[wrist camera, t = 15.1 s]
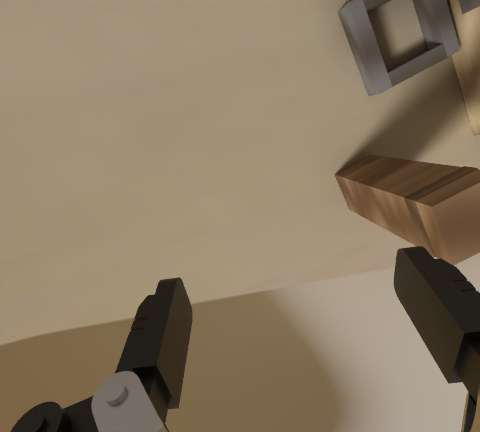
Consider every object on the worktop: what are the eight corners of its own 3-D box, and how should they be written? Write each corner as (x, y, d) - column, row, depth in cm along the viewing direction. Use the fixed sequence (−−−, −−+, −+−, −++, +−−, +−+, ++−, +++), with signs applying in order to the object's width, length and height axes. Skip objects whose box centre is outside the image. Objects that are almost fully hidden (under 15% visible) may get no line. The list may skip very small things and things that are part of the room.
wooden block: (334, 174, 30) (431, 206, 17) (371, 154, 30) (500, 170, 17) (349, 210, 31) (452, 267, 18) (385, 191, 31) (517, 234, 18)
